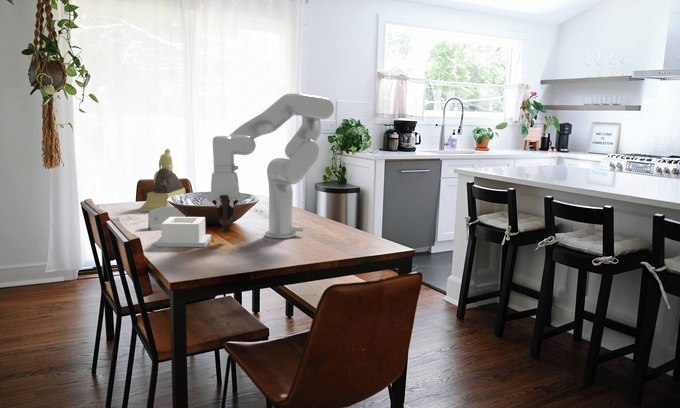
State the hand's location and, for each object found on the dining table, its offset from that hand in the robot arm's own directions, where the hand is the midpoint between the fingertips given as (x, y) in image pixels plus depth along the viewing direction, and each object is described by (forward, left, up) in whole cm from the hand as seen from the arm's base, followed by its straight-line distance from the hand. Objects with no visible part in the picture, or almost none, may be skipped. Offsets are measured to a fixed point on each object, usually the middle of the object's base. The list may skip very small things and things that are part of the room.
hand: (226, 216), depth 206 cm
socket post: (+16, 0, -10) cm, 19 cm away
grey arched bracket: (+28, -26, -10) cm, 40 cm away
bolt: (0, 0, -6) cm, 7 cm away
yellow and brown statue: (+41, -74, -10) cm, 85 cm away
